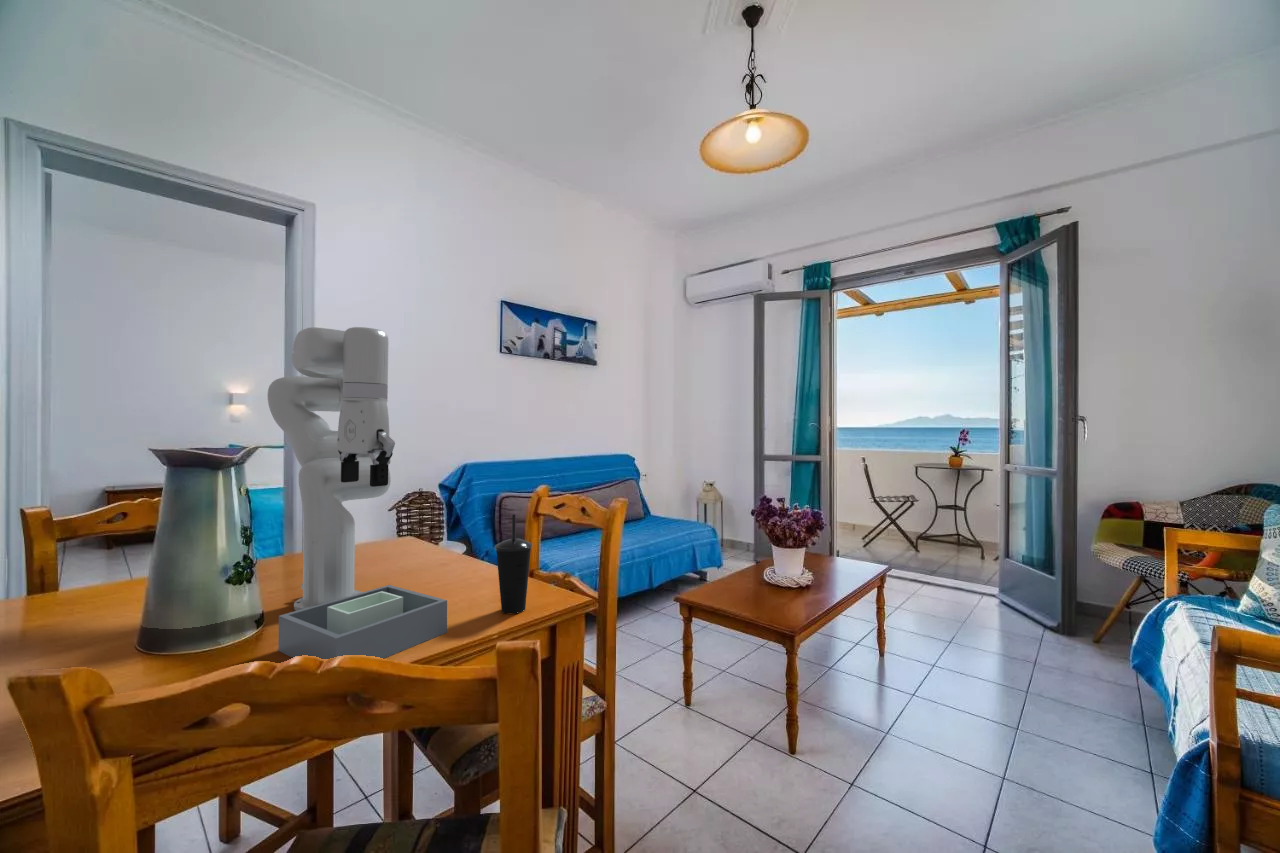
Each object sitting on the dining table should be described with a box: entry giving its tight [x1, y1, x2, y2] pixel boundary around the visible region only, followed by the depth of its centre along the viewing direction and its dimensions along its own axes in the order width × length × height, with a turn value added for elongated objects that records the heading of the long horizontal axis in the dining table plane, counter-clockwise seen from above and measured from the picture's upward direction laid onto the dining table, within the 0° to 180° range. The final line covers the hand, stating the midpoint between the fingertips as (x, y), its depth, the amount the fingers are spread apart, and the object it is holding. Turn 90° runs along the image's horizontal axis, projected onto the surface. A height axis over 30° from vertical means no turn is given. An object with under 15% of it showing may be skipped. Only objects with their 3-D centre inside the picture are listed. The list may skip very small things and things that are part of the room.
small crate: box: [327, 591, 403, 635], centre depth 89 cm, size 6×10×6 cm, turn 149°
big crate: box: [277, 584, 448, 659], centre depth 89 cm, size 18×20×6 cm
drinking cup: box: [494, 514, 533, 614], centre depth 105 cm, size 8×8×20 cm
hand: (364, 483), depth 95 cm, fingers open, 9 cm apart
